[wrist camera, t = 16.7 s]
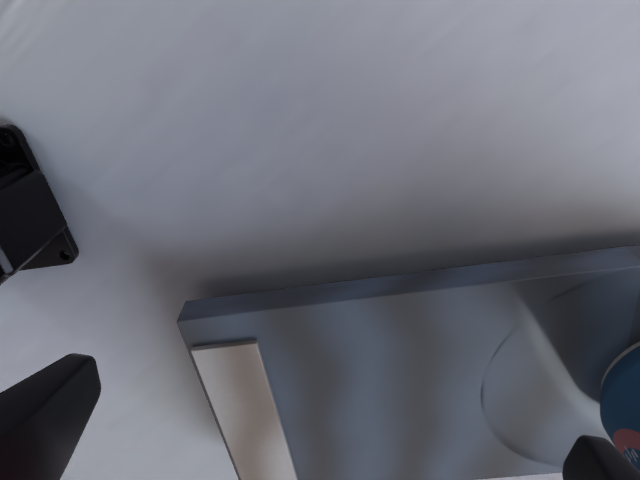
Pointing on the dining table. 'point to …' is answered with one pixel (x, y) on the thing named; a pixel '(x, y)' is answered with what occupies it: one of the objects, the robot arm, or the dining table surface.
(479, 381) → the grey kitchen scale
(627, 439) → the soda can
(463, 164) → the dining table surface
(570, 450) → the robot arm
